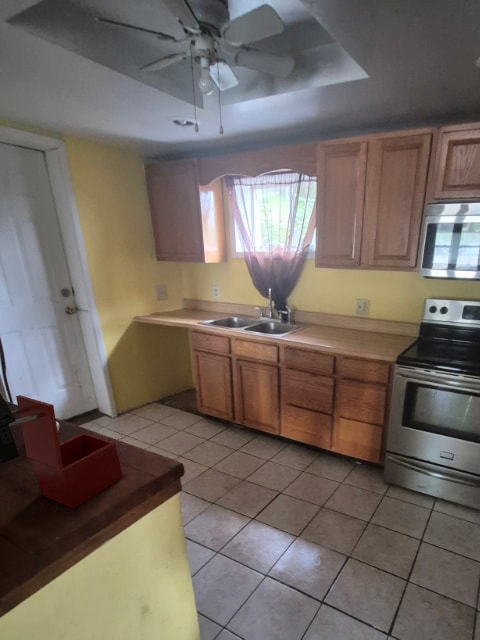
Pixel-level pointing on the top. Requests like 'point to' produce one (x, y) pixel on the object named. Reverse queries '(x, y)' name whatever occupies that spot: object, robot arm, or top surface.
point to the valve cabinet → (79, 470)
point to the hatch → (39, 431)
